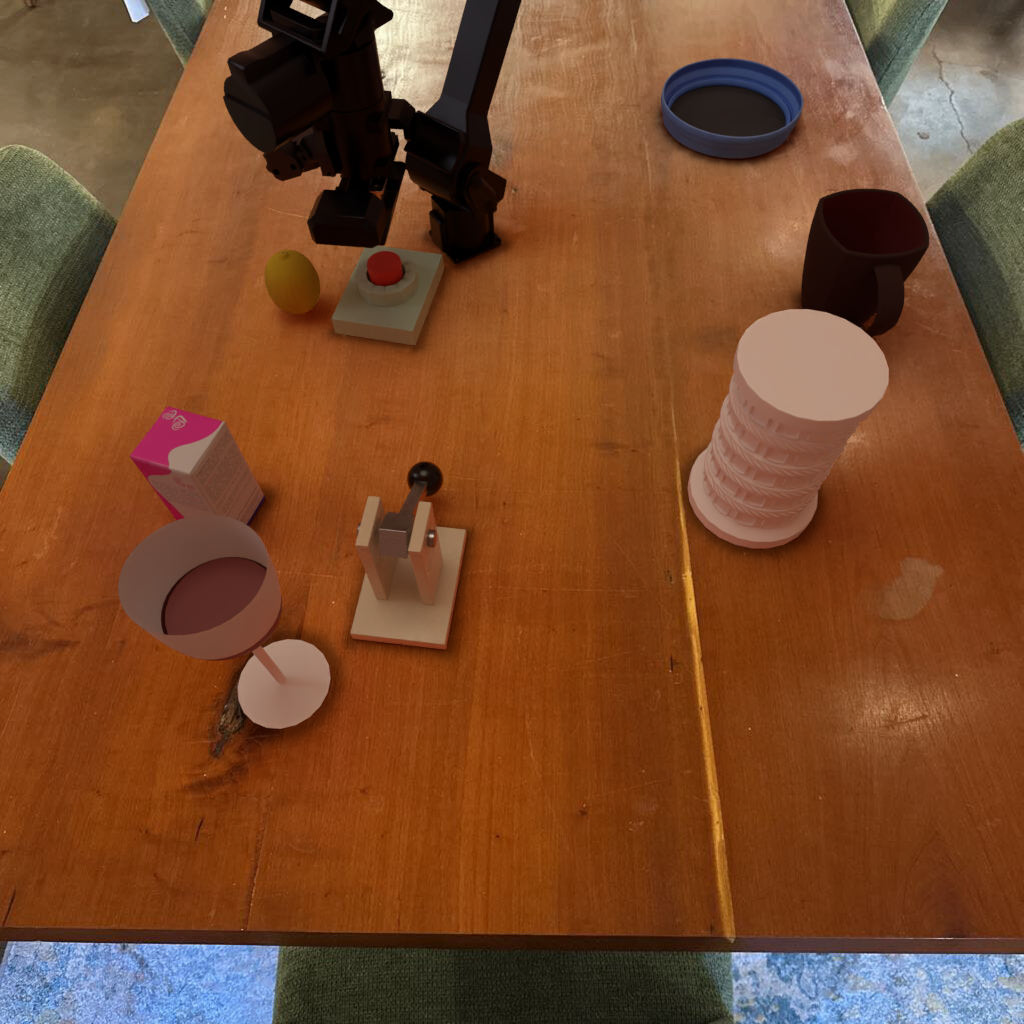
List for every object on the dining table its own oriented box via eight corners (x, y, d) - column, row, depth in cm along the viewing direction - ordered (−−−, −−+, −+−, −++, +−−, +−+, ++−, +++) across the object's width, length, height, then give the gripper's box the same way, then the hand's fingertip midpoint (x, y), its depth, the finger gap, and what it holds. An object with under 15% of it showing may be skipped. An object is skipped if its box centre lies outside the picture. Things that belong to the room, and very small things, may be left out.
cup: (859, 278, 86) (905, 184, 75) (904, 372, 78) (961, 282, 68) (772, 285, 85) (806, 191, 75) (809, 380, 78) (852, 290, 68)
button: (375, 261, 83) (372, 248, 81) (407, 266, 82) (405, 253, 81) (365, 284, 81) (362, 271, 80) (397, 289, 81) (395, 276, 79)
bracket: (380, 526, 70) (358, 458, 61) (466, 535, 69) (458, 468, 60) (352, 638, 64) (323, 582, 55) (446, 650, 64) (432, 595, 54)
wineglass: (235, 641, 64) (130, 520, 47) (339, 632, 64) (272, 509, 47) (225, 736, 60) (106, 641, 43) (335, 726, 60) (261, 628, 43)
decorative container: (661, 485, 72) (698, 352, 56) (747, 424, 75) (805, 283, 60) (752, 572, 67) (820, 453, 51) (840, 503, 70) (928, 372, 55)
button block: (369, 259, 88) (363, 230, 85) (444, 269, 87) (441, 241, 84) (335, 333, 82) (327, 305, 79) (415, 345, 81) (410, 318, 78)
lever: (411, 485, 70) (411, 453, 68) (446, 489, 70) (446, 457, 68) (372, 559, 59) (371, 523, 57) (413, 564, 58) (413, 527, 57)
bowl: (815, 108, 103) (824, 81, 100) (762, 180, 95) (770, 154, 92) (693, 69, 108) (698, 43, 105) (634, 135, 100) (637, 108, 97)
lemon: (318, 332, 82) (299, 274, 76) (269, 325, 83) (246, 267, 76) (334, 297, 85) (317, 238, 78) (287, 290, 86) (266, 231, 79)
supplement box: (268, 496, 72) (227, 420, 62) (236, 548, 69) (188, 478, 59) (214, 479, 73) (165, 402, 63) (180, 530, 70) (124, 458, 60)
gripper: (289, 30, 70) (327, 180, 84) (224, 154, 61) (278, 301, 74) (407, 36, 69) (427, 187, 83) (360, 163, 60) (391, 310, 73)
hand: (380, 243), depth 78 cm, fingers closed
